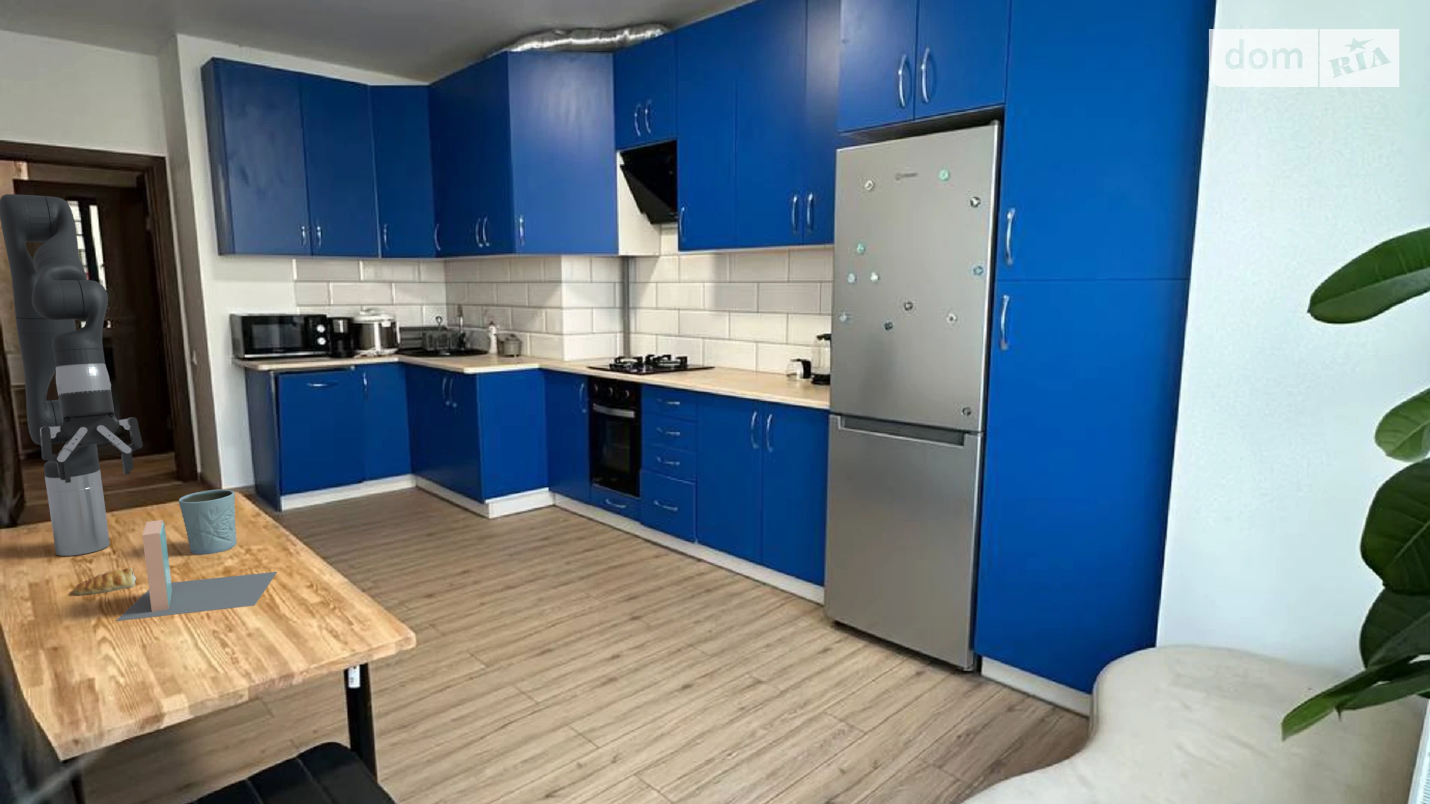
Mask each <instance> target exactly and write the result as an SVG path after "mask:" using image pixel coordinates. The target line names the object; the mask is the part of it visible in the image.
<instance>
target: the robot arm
mask: <svg viewBox="0 0 1430 804" xmlns="http://www.w3.org/2000/svg"><path fill="white" fill-rule="evenodd" d="M75 222H76V221H75V218H74V214H73V210H72V208H71V206H70V205H69V203H68V202H67V201H66V200H64V199H63V198H61V197H57V196H48V195H35V194H32V195H30V194H18V193H17V194H11V193H9V194H8V193H7V194H3V195H2V196H0V225H1V231H2V235H3V240H4V245H5V250H6V256H7V260H8V264H9V265H8V266H9V269H10V276H11V277H10V278H11V284H12V292H13V295H12V296H13V304H14V305H13V306H14V316H15V318H14V319H15V323H16V331H17V335H18V342H19V343H18V344H19V347H20V354H21V359H22V365H23V366H22V367H23V373H24V386H25V400H26V401H25V403H26V417H27V418H26V420H27V428H28V432H29V435H30V438H31V440H32V442H33V443H34V444H36V445H38V446H40V449H41V458H42V460H43V461H46V462H45V463H44V466H43V472H44V480H45V487H46V494H47V502H48V507H49V514H50V522H51V528H52V535H53V536H52V537H53V543H54V544H53V545H54V550H55V554H56V555H57V556H63V557H68V556H70V557H71V556H79V555H85V554H90V553H94V552H98V551H101V550H105V548H108V547H109V546H110V543H111V542H110V535H109V528H108V521H107V513H106V512H107V511H106V503H105V497H104V489H103V482H102V475H101V474H102V473H101V467H100V462H99V461H100V460H99V452H98V445H105V444H107V443H110V444H111V445H112V446H113V447H115V448H116V449H118V450H119V451H120V452H121V454H120V459H121V464H122V471H123V475H129V474H131V471H133V470H134V461H133V452H135V451H137V450H140V449H142V448H143V447H144V445H143V441H142V440H143V439H142V435H141V431H140V428H139V427H140V426H139V422H138V419H137V418H136V417H133V416H132V417H128V418H124V419H117V417H116V415H115V408H114V401H113V395H112V388H111V387H112V384H111V383H112V382H111V381H110V375H109V372H108V369H107V366H106V360H105V359H106V358H105V352H104V345H103V329H104V321H105V318H106V314H107V309H108V302H109V296H108V292H107V290H106V288H105V287H104V286H103V285H102V284H101V283H100V282H98V281H96V280H88V277H87V273H86V271H85V268H84V266H83V264H82V263H83V262H82V261H81V258H80V255H79V244H78V235H77V229H76V223H75ZM27 243H42V244H40V245H39V246H38V248H37V249H36V250H35V251H34V255H33V258H32V256H31V254H30V253H29V250H28V248H27ZM75 320H85V324H84V326H83V327H82V328H80V329H77V328H76V326H77V325H76V321H75ZM54 375H55V384H56V390H57V397H58V399H54V400H53V399H52V400H47V395H48V390H49V387H50V384H51V381H52V380H53V377H54ZM120 426H122V427H123V429H124V430H127V431H129V435H130V440H131V443H130V444H128V445H127V444H126V443H125V442H124V441H123V440H121V439H120V438H119V437H118V436H117V435H116V434H115V433H116V431H117V430H118V428H119V427H120ZM64 443H65V444H64ZM54 444H55V445H56V444H64V446H62V449H61V450H60V451H59V453H57V454H56V453H53V449H52V445H54Z"/></svg>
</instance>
